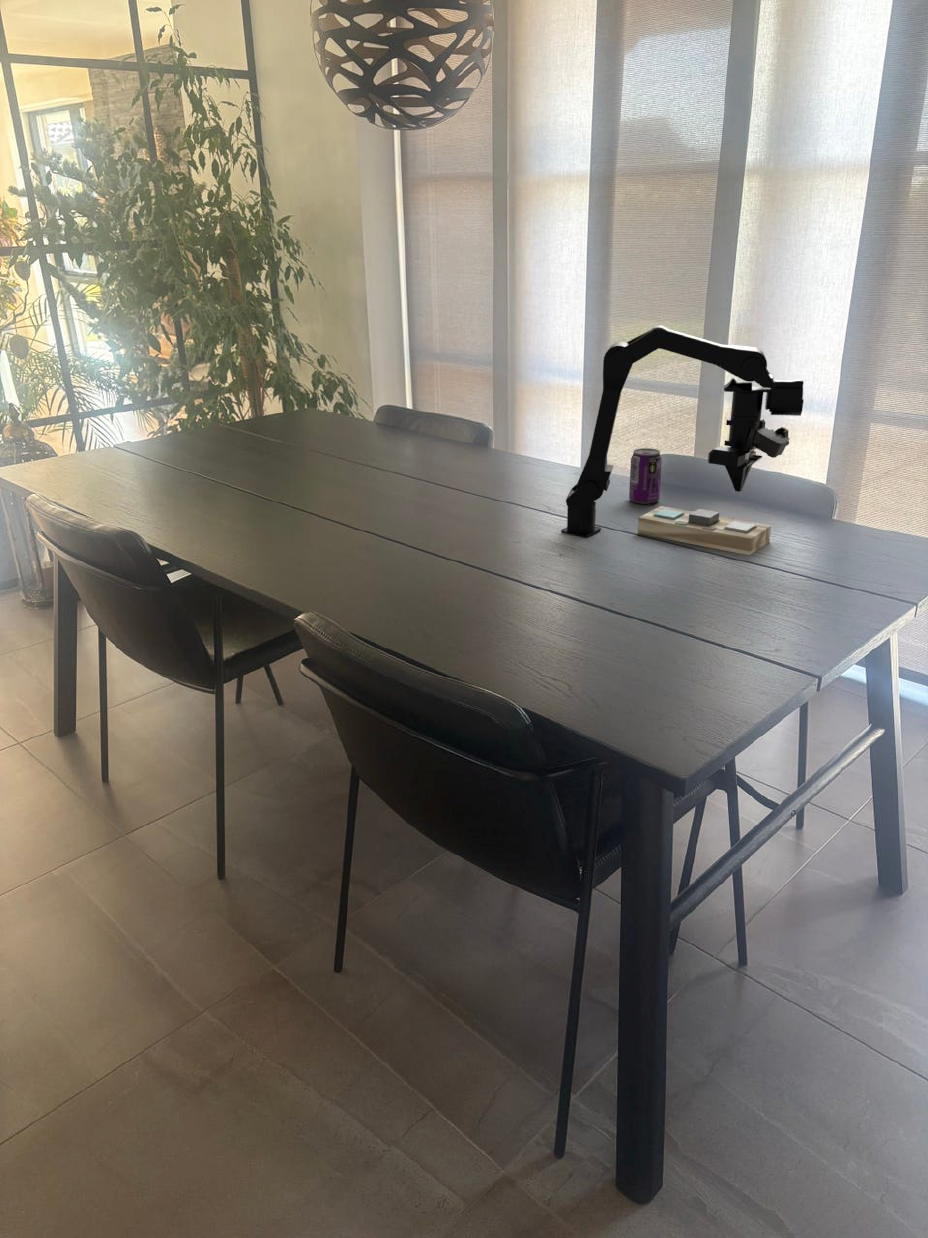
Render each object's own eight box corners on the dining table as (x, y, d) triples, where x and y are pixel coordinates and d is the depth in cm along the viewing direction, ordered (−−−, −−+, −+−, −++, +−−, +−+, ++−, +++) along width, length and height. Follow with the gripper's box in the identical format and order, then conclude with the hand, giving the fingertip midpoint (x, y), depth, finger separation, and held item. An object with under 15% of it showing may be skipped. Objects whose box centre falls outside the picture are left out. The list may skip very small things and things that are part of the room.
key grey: (745, 544, 188) (746, 530, 186) (723, 540, 190) (724, 526, 189) (754, 538, 191) (755, 524, 190) (733, 534, 194) (734, 520, 192)
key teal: (672, 531, 197) (673, 517, 196) (653, 527, 200) (654, 513, 198) (682, 525, 200) (683, 512, 199) (663, 521, 203) (664, 508, 202)
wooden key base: (749, 555, 185) (751, 537, 183) (637, 533, 199) (638, 516, 198) (769, 541, 192) (771, 524, 190) (659, 521, 206) (660, 505, 205)
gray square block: (708, 531, 192) (709, 517, 191) (688, 527, 194) (689, 514, 193) (718, 526, 195) (719, 512, 194) (697, 522, 198) (698, 508, 196)
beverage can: (659, 505, 217) (662, 455, 212) (628, 504, 219) (630, 454, 214) (659, 497, 224) (662, 447, 219) (629, 496, 225) (631, 447, 220)
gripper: (765, 427, 172) (756, 508, 179) (804, 410, 185) (794, 487, 192) (710, 420, 179) (703, 499, 185) (751, 405, 192) (743, 479, 198)
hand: (738, 491), depth 190 cm, fingers closed
